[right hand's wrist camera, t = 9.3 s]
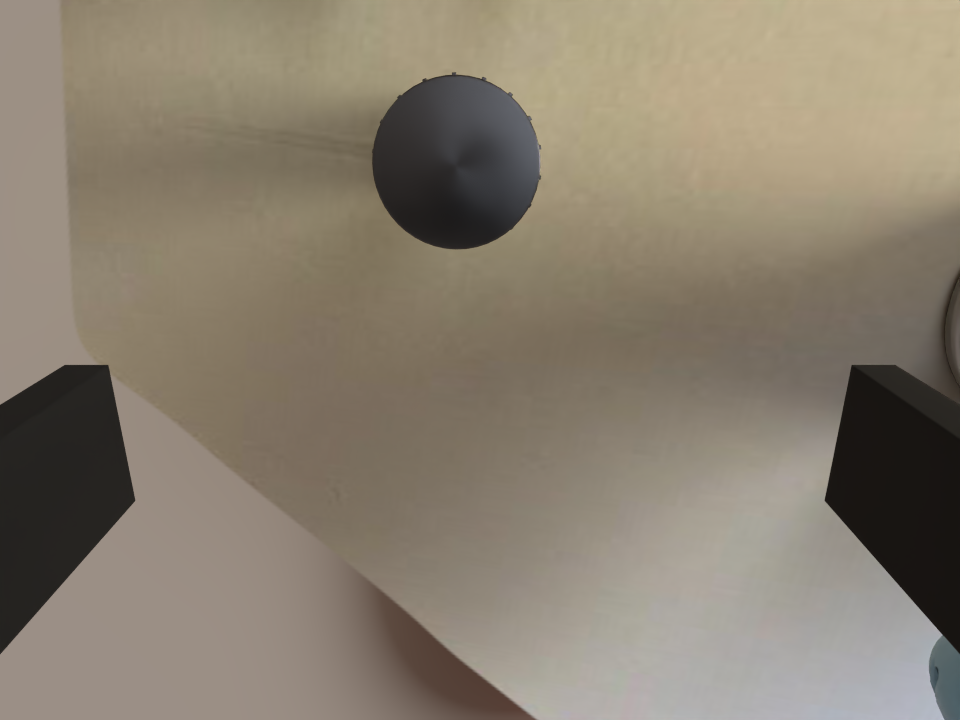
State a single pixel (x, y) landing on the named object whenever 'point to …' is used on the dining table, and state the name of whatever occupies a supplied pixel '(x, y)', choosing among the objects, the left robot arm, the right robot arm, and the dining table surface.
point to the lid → (456, 161)
